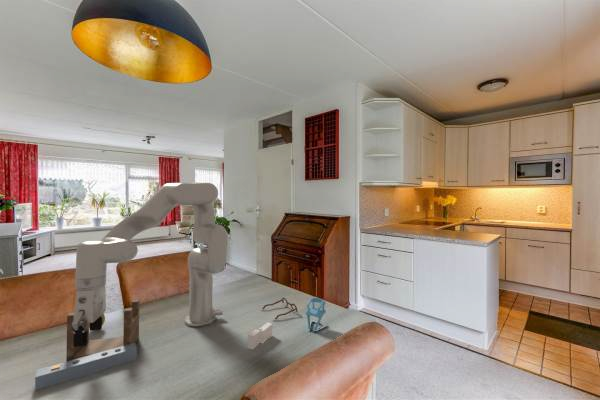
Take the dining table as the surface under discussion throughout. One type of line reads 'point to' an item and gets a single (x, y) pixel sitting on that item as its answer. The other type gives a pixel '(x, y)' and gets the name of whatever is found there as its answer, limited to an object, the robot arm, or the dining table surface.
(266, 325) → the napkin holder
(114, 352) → the power strip
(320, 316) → the chair
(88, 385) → the dining table surface
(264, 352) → the dining table surface
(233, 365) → the dining table surface
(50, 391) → the dining table surface
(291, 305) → the glasses
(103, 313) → the lemon
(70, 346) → the rack
